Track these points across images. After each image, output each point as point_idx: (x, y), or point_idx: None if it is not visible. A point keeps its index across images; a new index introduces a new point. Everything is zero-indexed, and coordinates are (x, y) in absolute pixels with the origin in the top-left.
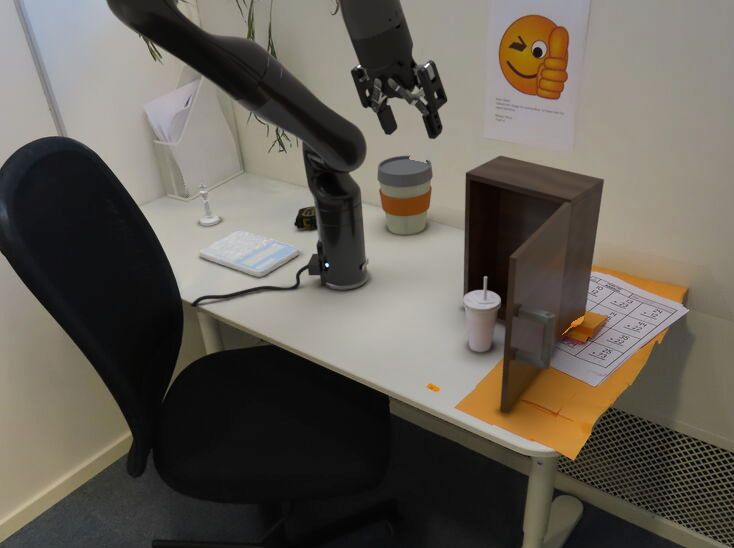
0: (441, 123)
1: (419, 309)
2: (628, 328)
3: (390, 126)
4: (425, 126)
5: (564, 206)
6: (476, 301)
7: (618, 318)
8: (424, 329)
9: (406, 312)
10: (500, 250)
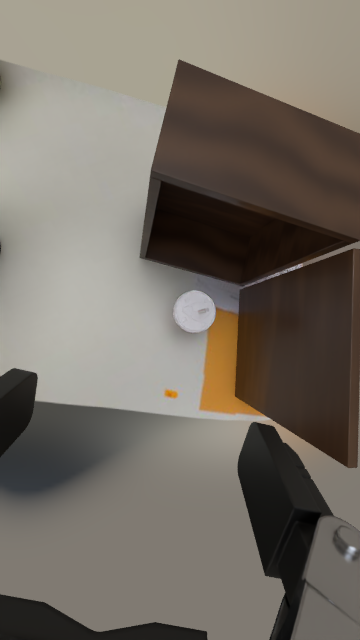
0: (303, 465)
1: (95, 276)
2: None
3: (17, 419)
4: (251, 518)
5: (358, 266)
6: (192, 318)
7: None
8: (119, 310)
9: (84, 287)
10: (167, 186)
